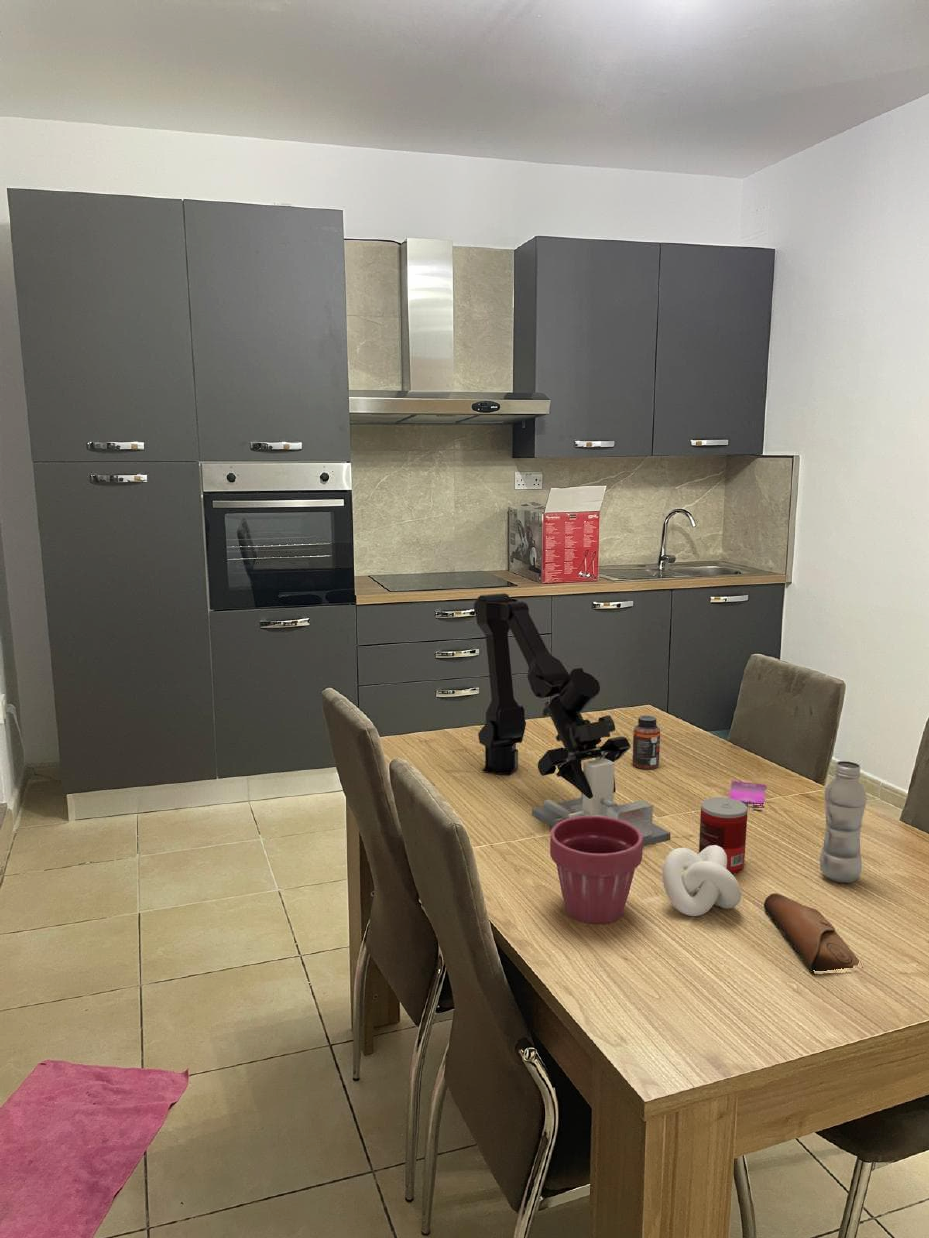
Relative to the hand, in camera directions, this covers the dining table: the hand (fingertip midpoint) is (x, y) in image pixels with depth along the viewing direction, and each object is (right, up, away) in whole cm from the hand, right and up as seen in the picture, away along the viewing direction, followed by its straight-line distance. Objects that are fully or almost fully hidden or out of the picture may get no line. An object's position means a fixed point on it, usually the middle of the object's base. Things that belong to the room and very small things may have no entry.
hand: (602, 795), depth 173 cm
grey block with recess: (+4, -7, -6) cm, 10 cm away
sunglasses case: (+25, -15, -38) cm, 48 cm away
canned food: (+18, -10, -14) cm, 25 cm away
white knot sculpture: (+12, -12, -29) cm, 33 cm away
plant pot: (-6, -12, -29) cm, 33 cm away
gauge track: (0, -6, +2) cm, 7 cm away
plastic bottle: (+37, -10, -19) cm, 43 cm away
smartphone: (+33, -4, +17) cm, 37 cm away
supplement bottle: (+15, 0, +35) cm, 38 cm away
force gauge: (-2, -5, +1) cm, 5 cm away
